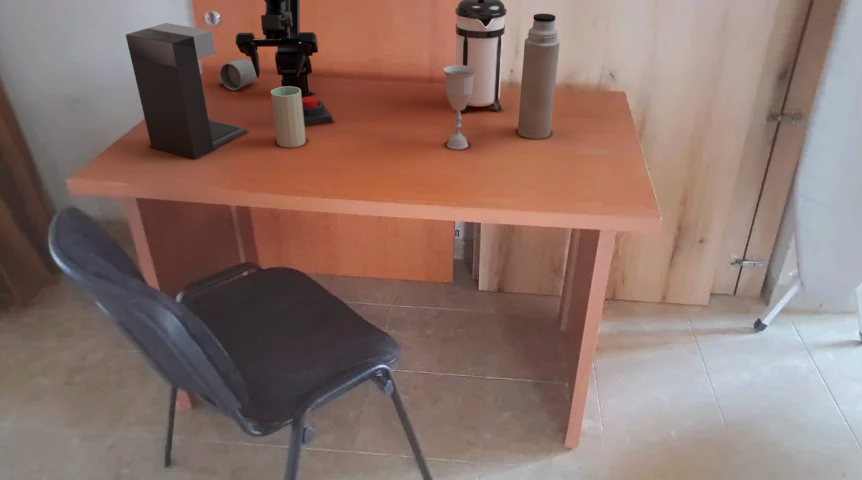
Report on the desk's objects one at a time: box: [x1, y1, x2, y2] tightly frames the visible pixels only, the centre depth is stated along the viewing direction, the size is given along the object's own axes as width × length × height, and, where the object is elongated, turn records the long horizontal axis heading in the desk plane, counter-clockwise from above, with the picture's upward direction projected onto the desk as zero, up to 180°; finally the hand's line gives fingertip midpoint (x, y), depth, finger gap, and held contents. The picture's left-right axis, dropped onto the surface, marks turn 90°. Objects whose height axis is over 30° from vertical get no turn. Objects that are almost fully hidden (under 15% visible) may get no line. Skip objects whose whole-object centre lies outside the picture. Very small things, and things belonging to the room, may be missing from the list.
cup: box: [270, 86, 307, 148], centre depth 163 cm, size 7×7×12 cm
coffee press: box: [454, 0, 507, 114], centre depth 181 cm, size 17×16×30 cm
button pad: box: [303, 99, 333, 127], centre depth 179 cm, size 11×9×4 cm
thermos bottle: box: [517, 13, 561, 140], centre depth 164 cm, size 8×8×28 cm
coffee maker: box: [125, 22, 248, 160], centre depth 161 cm, size 18×14×26 cm
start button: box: [302, 95, 319, 108], centre depth 178 cm, size 4×4×2 cm
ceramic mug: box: [218, 58, 257, 91], centre depth 199 cm, size 11×8×8 cm
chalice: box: [442, 64, 476, 150], centre depth 161 cm, size 7×7×18 cm
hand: (277, 76), depth 166 cm, fingers open, 9 cm apart
